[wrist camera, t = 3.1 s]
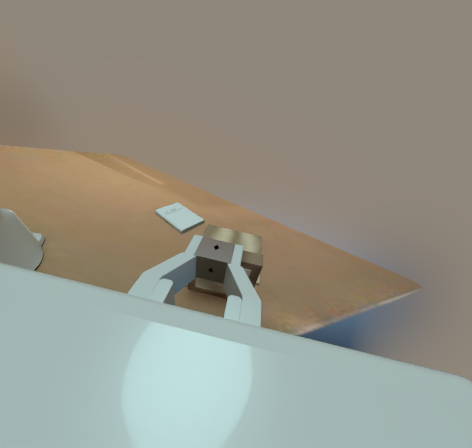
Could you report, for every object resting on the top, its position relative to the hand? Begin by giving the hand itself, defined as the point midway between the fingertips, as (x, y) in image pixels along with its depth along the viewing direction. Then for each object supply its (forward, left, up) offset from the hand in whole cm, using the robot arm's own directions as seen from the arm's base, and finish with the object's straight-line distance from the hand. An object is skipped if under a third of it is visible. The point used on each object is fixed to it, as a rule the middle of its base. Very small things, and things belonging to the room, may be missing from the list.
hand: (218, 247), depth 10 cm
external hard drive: (-17, +32, -24) cm, 44 cm away
